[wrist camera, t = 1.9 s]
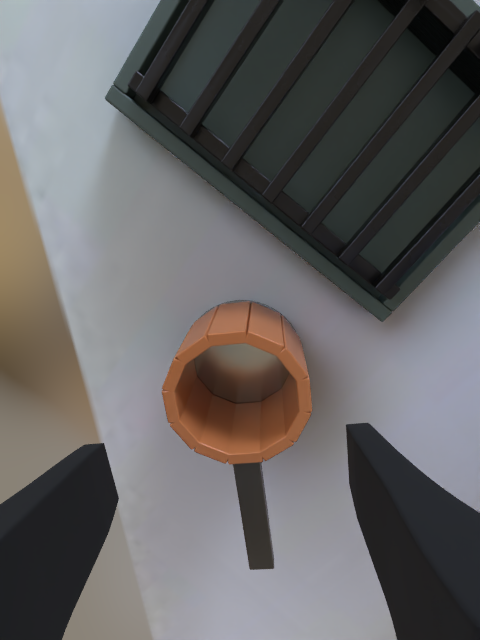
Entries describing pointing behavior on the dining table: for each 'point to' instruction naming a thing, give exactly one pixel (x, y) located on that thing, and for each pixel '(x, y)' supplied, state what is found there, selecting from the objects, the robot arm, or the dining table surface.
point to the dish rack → (324, 125)
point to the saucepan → (241, 401)
